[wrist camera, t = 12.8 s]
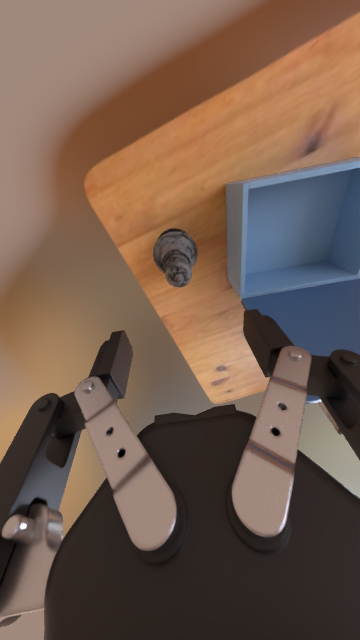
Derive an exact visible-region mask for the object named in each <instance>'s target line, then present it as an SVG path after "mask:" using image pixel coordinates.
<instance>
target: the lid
mask: <svg viewBox="0 0 360 640" xmlns="http://www.w3.org/2000/svg"><path fill="white" fill-rule="evenodd" d="M241 303H242V305H243V307H244V309H245V310H251V309H258V310H259V312H260V313H261V314H262V315H268V316H269V317H271V318H273V319H274V320H275V321H276V323H277V324H278V325H279V327H280V328H281V330H283V332H284V333H285V334H286V335H287V337H288V338H289V339H290V340H291V342H292V343H293V344H294V345H295V346H298V347H301V348H303V349H305V350H306V351H308V352H309V353H310V355H318V356H329V357H330V355H331V353H332V352H333V351H335V350H339V349H343V350H349V351H352V352H355V353H357V354H359V355H360V278H358V279H352V280H347V281H341V282H335V283H329V284H324V285H318V286H312V287H307V288H301V289H295V290H289V291H284V292H278V293H272V294H266V295H261V296H255V297H249V298H244V299H242V300H241ZM315 402H322V401H321V399H320V398H319V396H312V395H307V398H306V404H309V403H315Z"/></svg>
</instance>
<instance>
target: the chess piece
mask: <svg viewBox="0 0 360 640" xmlns="http://www.w3.org/2000/svg"><path fill="white" fill-rule="evenodd" d="M153 257H154V261H155V263H156V265H157V267H158V268H159V269H160V270H161V271H162V272H163V273H165V276H166V279H167V281H168V282H169V284H170V285H172V286H174V287H183V286H185V285H187V284H188V283H189V282H190V280H191V276H192V271H191V269H192V268H193V267H194V265H195V263H196V260H197V247H196V244H195V242H194V241H193V239H192V238H191V237H190V236H188V234H186V233H185V232H184V231H182V230H180V229H175V228H174V229H169V230H166V231H165V232H163V233H162V234H161V235H160V237H159V238H158V241H157V242H156V244H155V247H154V252H153Z"/></svg>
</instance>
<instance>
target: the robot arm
mask: <svg viewBox="0 0 360 640" xmlns="http://www.w3.org/2000/svg"><path fill="white" fill-rule="evenodd" d="M243 331H244V336H245V338H246V340H247V342H248V344H249V346H250V348H251V350H252V352H253V354H254V356H255V358H256V360H257V362H258V364H259V366H260V368H261V370H262V371H263V373H264V375H265V377H270V380H269V383H268V386H267V388H266V391H265V394H264V397H263V400H262V403H261V406H260V409H259V412H258V415H257V417H255V416H254V415H252V414H249V413H246V412H243V411H237V410H236V408H235V404H232V405H225V406H218V407H213V408H211V409H209V410H206V411H204V412H202V413H199V414H197V415H187V414H179V413H170V414H163V415H156V416H155V422H154V423H152V424H150V425H148V426H147V427H145V428H144V429H143V430H142V431H141V432H140V433H139V434H138V435H137V436H136V435H135V433H134V431H133V429H132V428H131V426H130V425H129V423H128V422H127V420H126V419H125V417H124V415H123V414H122V412H121V411H120V409H119V408H118V406H117V400H118V399H122V398H124V397H125V393H126V387H127V382H128V377H129V371H130V366H131V361H132V356H133V351H132V347H131V344H130V342H129V339H128V337H127V335H126V333H125V331H124V330H123V331H117V332H113V333H112V334H111V337H110V339H109V340H108V341H105V342H104V343H103V345H102V346H101V347H100V350H99V352H98V355H97V357H96V360H95V362H94V365H93V367H92V370H91V372H90V375H89V377H88V378H86V379H84V380H83V381H82V382H80V383H79V385H78V386H77V387H76V389H75V391H74V392H71V393H69V394H67V395H64V396H62V397H59V396H58V395H57V394H54V393H49V394H46V395H44V396H42V397H41V398H39V399H38V400H37V401H36V402H35V403H34V404H33V405H32V407H31V408H30V410H29V412H28V414H27V415H26V417H25V419H24V421H23V423H22V425H21V426H20V428H19V430H18V432H17V434H16V436H15V437H14V439H13V441H12V443H11V445H10V447H9V448H8V450H7V452H6V454H5V456H4V458H3V460H2V461H1V463H0V627H2V626H7V625H10V624H12V623H13V622H15V621H16V620H17V619H18V618H19V617H20V616H21V615H22V614H26V613H30V612H35V611H40V610H44V624H45V631H44V640H360V498H358V497H357V496H356V495H355V494H354V493H352V492H351V491H350V490H348V489H347V488H346V487H345V486H343V485H342V484H341V483H340V482H338V481H337V480H336V479H335V478H333V477H332V476H331V475H330V474H328V473H327V472H326V471H325V470H323V469H322V468H321V467H320V466H318V465H317V464H316V463H315V462H313V461H312V460H311V459H310V458H308V457H307V456H306V455H305V454H303V453H302V452H301V451H299V450H298V444H299V438H300V433H301V427H302V421H303V415H304V409H305V404H306V398H307V395H312V396H319V398H320V399H321V401H322V402H323V404H324V405H325V407H326V408H327V410H328V412H329V413H330V415H331V416H332V418H333V419H334V421H335V422H336V424H337V426H338V427H339V429H340V430H341V432H342V433H343V435H344V436H345V438H346V440H347V441H348V443H349V444H350V446H351V447H352V449H353V450H354V452H355V453H356V455H357V457H358V458H359V460H360V355H359V354H357V353H355V352H352V351H349V350H343V349H339V350H335V351H333V352H332V353H331V355H330V357H329V356H318V355H310V353H309V352H308V351H306V350H305V349H303V348H301V347H298V346H295V345H294V344H293V343H292V342H291V340H290V339H289V338H288V337H287V335H286V334H285V333H284V332H283V330H281V328H280V327H279V325H278V324H277V323H276V321H275V320H274V319H273V318H271V317H269V316H268V315H262V314H261V313H260V312H259V310H258V309H251V310H245V311H244V326H243ZM85 428H86V429H87V431H88V434H89V436H90V438H91V441H92V443H93V445H94V448H95V450H96V452H97V455H98V457H99V459H100V462H101V464H102V466H103V469H104V471H105V474H106V476H107V478H106V479H105V480H104V482H103V483H102V485H101V486H100V487H99V489H98V490H97V492H96V493H95V494H94V496H93V497H92V499H91V500H90V502H89V503H88V504H87V506H86V507H85V508H84V510H83V511H82V513H81V514H80V516H79V517H78V518H77V520H76V521H75V523H74V524H73V525H72V527H71V528H70V530H69V531H68V533H67V534H66V535H65V537H64V539H63V540H62V536H63V531H62V528H63V517H62V514H61V513H60V512H59V507H60V504H61V500H62V497H63V494H64V490H65V487H66V483H67V480H68V476H69V473H70V469H71V466H72V462H73V459H74V455H75V452H76V448H77V445H78V441H79V438H80V434H81V431H82V430H83V429H85ZM50 438H51V439H50ZM48 443H49V444H48Z"/></svg>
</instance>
